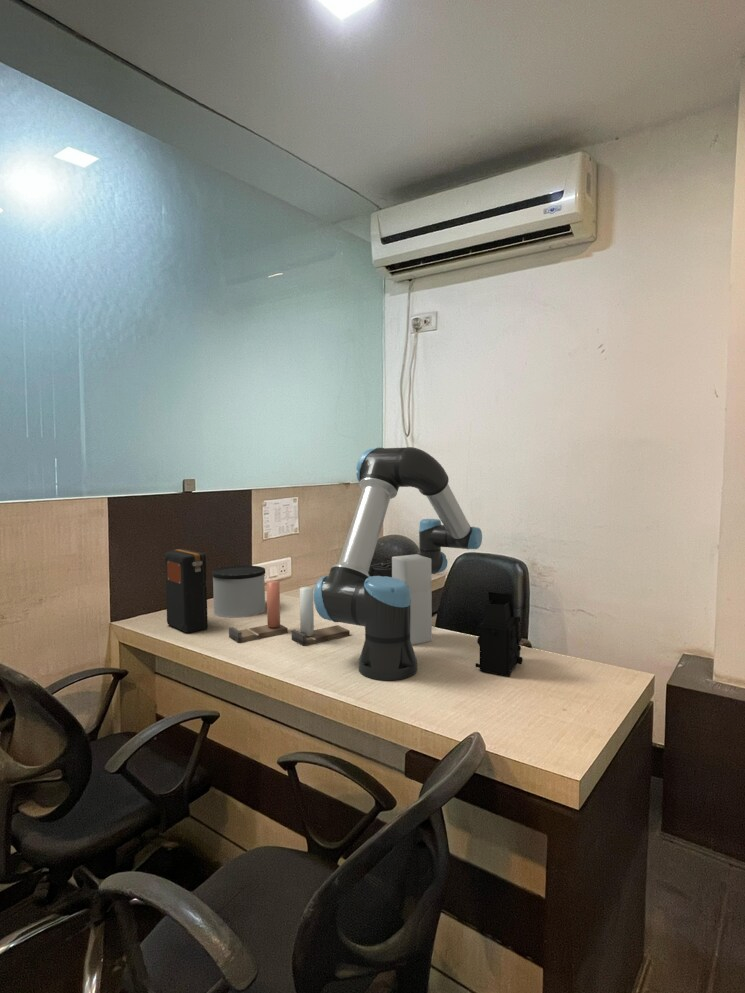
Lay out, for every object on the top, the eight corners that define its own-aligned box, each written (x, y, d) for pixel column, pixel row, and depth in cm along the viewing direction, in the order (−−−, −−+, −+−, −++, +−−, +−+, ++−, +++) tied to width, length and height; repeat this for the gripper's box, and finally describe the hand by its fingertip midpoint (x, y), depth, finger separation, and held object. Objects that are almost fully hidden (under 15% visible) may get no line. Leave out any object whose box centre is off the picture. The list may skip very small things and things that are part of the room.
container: (231, 621, 188) (230, 577, 187) (202, 611, 201) (201, 570, 200) (276, 610, 201) (275, 569, 200) (247, 601, 214) (246, 563, 213)
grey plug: (309, 631, 169) (309, 586, 168) (316, 634, 166) (315, 588, 165) (298, 633, 166) (297, 587, 166) (304, 636, 163) (303, 590, 162)
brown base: (276, 626, 180) (276, 617, 180) (289, 633, 173) (288, 624, 173) (227, 636, 171) (227, 626, 171) (239, 643, 164) (239, 633, 163)
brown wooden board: (335, 629, 177) (335, 619, 177) (351, 636, 170) (351, 626, 170) (290, 639, 168) (289, 629, 167) (304, 646, 160) (304, 636, 160)
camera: (527, 661, 147) (528, 587, 146) (512, 679, 135) (513, 598, 134) (491, 655, 152) (491, 583, 151) (473, 671, 140) (474, 593, 139)
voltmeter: (211, 629, 178) (209, 552, 177) (186, 635, 172) (183, 556, 171) (188, 619, 189) (186, 547, 188) (163, 625, 183) (161, 550, 182)
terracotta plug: (276, 622, 178) (276, 580, 177) (282, 625, 175) (281, 582, 174) (265, 625, 175) (264, 581, 175) (270, 628, 172) (270, 583, 171)
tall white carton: (391, 637, 168) (391, 556, 167) (416, 633, 172) (416, 554, 171) (406, 646, 160) (406, 561, 159) (432, 641, 164) (431, 558, 163)
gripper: (421, 580, 184) (363, 590, 170) (396, 574, 194) (340, 583, 180) (421, 558, 183) (362, 566, 169) (396, 553, 194) (340, 560, 180)
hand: (351, 574), depth 175 cm, fingers closed
